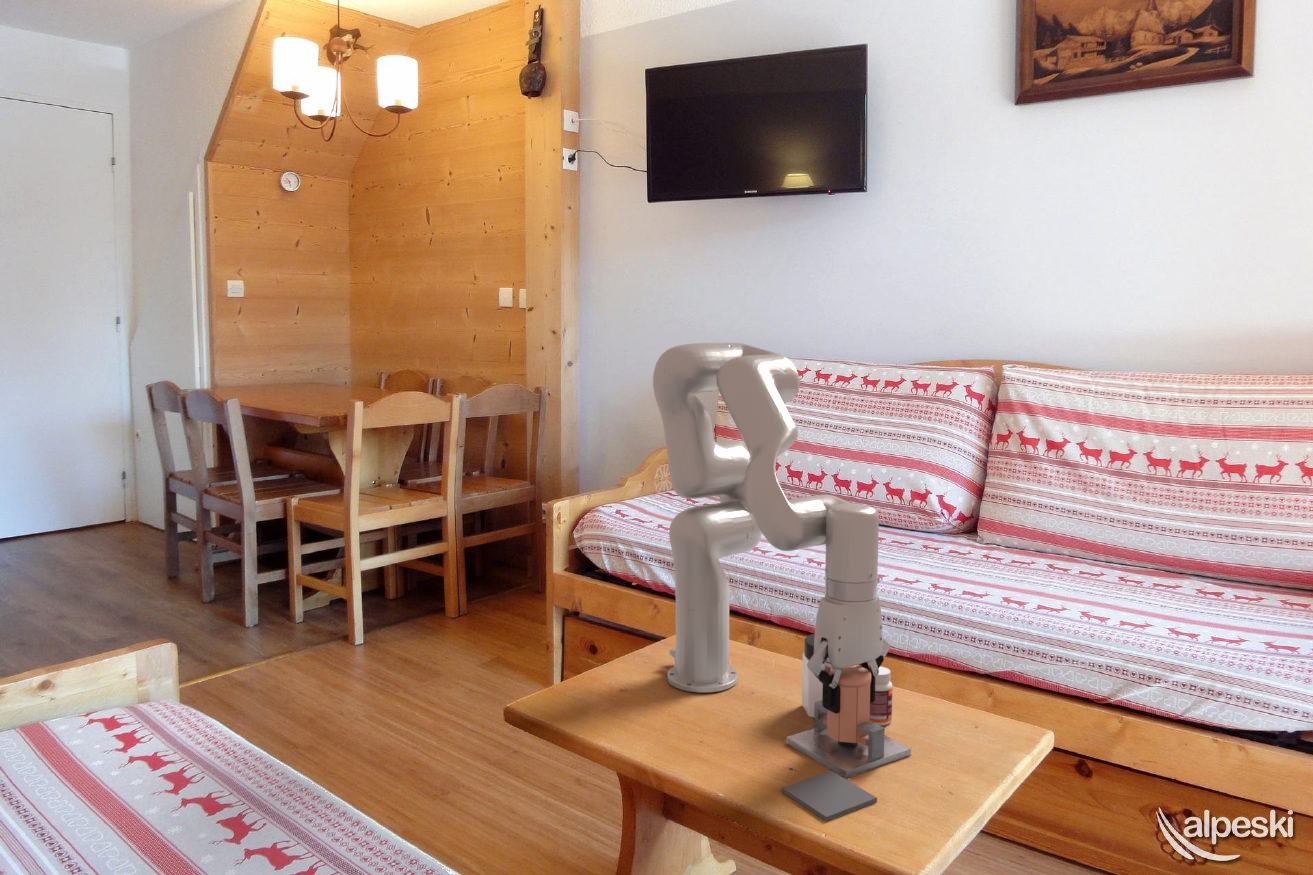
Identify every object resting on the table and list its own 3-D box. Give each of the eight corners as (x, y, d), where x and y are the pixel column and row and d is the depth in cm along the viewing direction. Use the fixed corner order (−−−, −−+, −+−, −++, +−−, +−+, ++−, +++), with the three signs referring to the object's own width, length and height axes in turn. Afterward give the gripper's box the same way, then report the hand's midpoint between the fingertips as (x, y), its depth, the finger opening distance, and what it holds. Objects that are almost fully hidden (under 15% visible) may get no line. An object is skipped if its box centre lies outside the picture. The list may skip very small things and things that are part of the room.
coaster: (781, 791, 129) (781, 787, 129) (830, 774, 134) (830, 770, 134) (826, 821, 121) (826, 816, 121) (876, 801, 126) (876, 797, 126)
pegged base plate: (786, 743, 143) (787, 674, 142) (849, 722, 150) (850, 657, 149) (845, 778, 132) (847, 703, 131) (910, 754, 139) (912, 683, 138)
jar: (825, 725, 149) (826, 653, 148) (791, 708, 156) (792, 638, 154) (865, 712, 154) (867, 642, 153) (830, 695, 161) (832, 628, 159)
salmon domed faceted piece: (811, 726, 143) (812, 667, 142) (842, 717, 147) (843, 658, 145) (853, 750, 135) (855, 687, 134) (885, 739, 139) (887, 677, 138)
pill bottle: (894, 726, 149) (896, 675, 148) (864, 726, 149) (865, 675, 148) (888, 713, 154) (889, 664, 153) (858, 713, 154) (859, 664, 153)
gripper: (875, 573, 146) (872, 684, 148) (788, 591, 137) (787, 709, 139) (911, 585, 139) (908, 700, 142) (823, 604, 130) (822, 727, 133)
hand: (848, 703), depth 140 cm, fingers closed on salmon domed faceted piece, 6 cm apart
